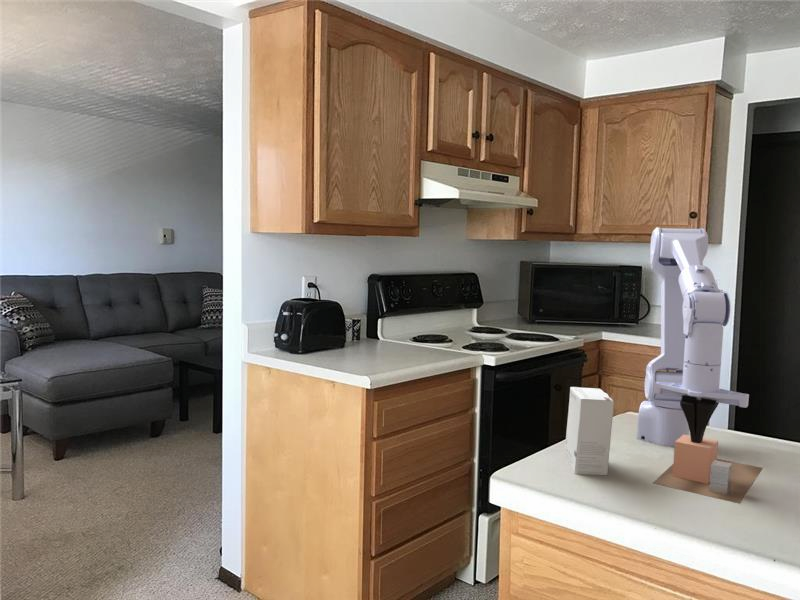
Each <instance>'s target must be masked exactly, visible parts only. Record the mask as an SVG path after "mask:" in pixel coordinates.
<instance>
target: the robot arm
mask: <svg viewBox="0 0 800 600" xmlns="http://www.w3.org/2000/svg"><path fill="white" fill-rule="evenodd" d="M649 249H650V252H649V253H650V261H649V262H650V266H651V268H650V269H651V271H653V272H654V273H656V274H658V275H659V276H658V277H659V280H660V286H661V287H660V354H659V355H658V356H657V357H655V358H653V359H651V361H649V362H648V363H647V365H646V369H645V378H644V395H645V398H646V400H643V401H642V402H641V403H640V405H639V409H638V414H637V425H636V426H637V429H636V430H637V431H636V440H639V441H645V442H649V443H654V444H658V445H661V446H666V447H672V448H673V447H674V448H675V441H676V440H677V439H679V438H680V437H681V436H682V435H684V434H685V435H690V436H691V442H695V443H701V442H702V440H703V438H704V435H705V432H706V428H707V426H708V423H709V421H710V419H711V418H712V416H713V414H714V413H715V411H716V410H717V408H718V405H719V404H723V405H724V404H725V405H729V406H730V405H732V406H738V407H739V408H745V409H746V408H748V406H749V398H750V394H748V393H742V392H738V391H733V390H728V389H724V388H720V382H721V381H720V379H721V367H722V366H721V365H722V355H723V354H722V352H723V341H724V327H726V326H727V325H728V323H729V321H730V317H731V299H730V295H729V292H728V291H724V290H723V289H720V288H718V284H717V281H716V279H715V277H714V274H713V272H712V270H711V269H710V268H709V266H706V265H704V263H703V262H704V259H705V257H706V256H707V254H708V249H709V234H708V232H707V231H706V230H705V228H675V227H674V228H669V227H668V228H667V227H666V228H665V227H662V228H661V227H659V226H657V227H655V229H653V231H652V233H651V236H650V247H649Z"/></svg>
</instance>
